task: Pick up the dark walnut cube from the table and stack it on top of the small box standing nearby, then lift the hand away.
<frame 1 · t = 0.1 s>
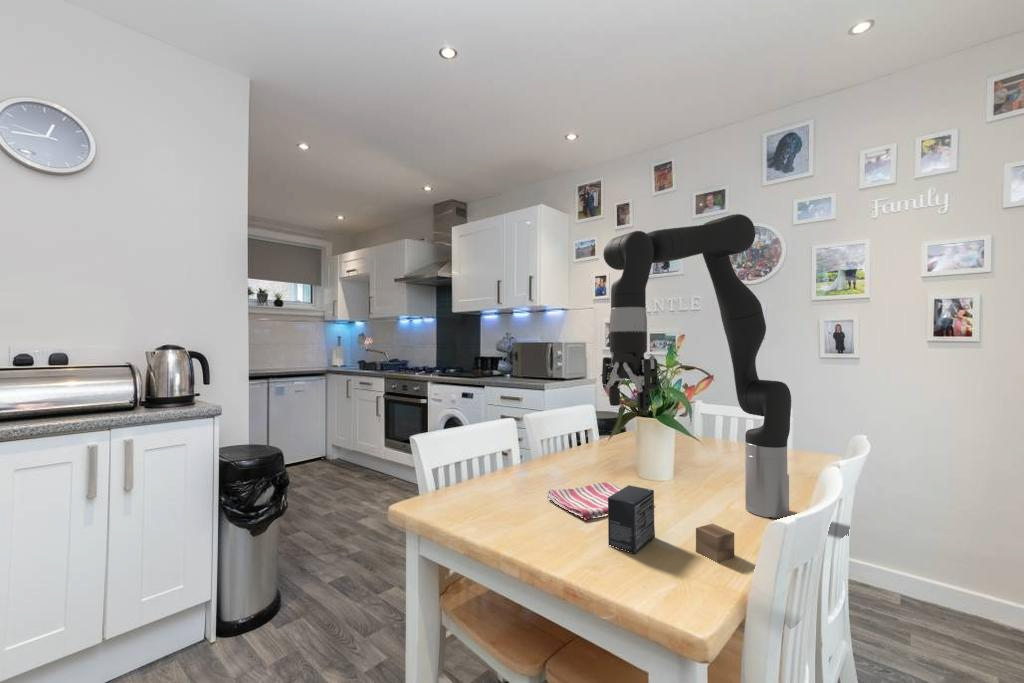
hand: (628, 408, 91), 29 cm above the table, tool pointing down, fingers open, 8 cm apart
small box: (631, 542, 94), on the table
dish towel: (598, 505, 118), on the table
walnut block: (714, 555, 89), on the table
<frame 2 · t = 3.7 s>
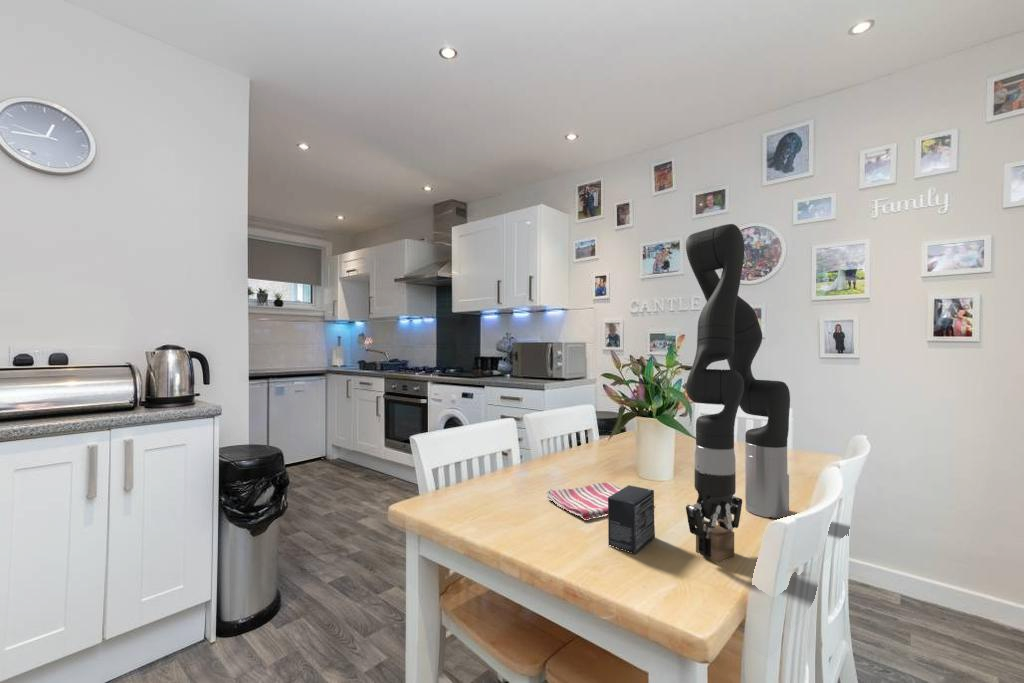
hand: (714, 552, 89), 0 cm above the table, tool pointing down, fingers closed on walnut block, 5 cm apart
walnut block: (714, 554, 89), on the table, touching gripper
everything else where it was.
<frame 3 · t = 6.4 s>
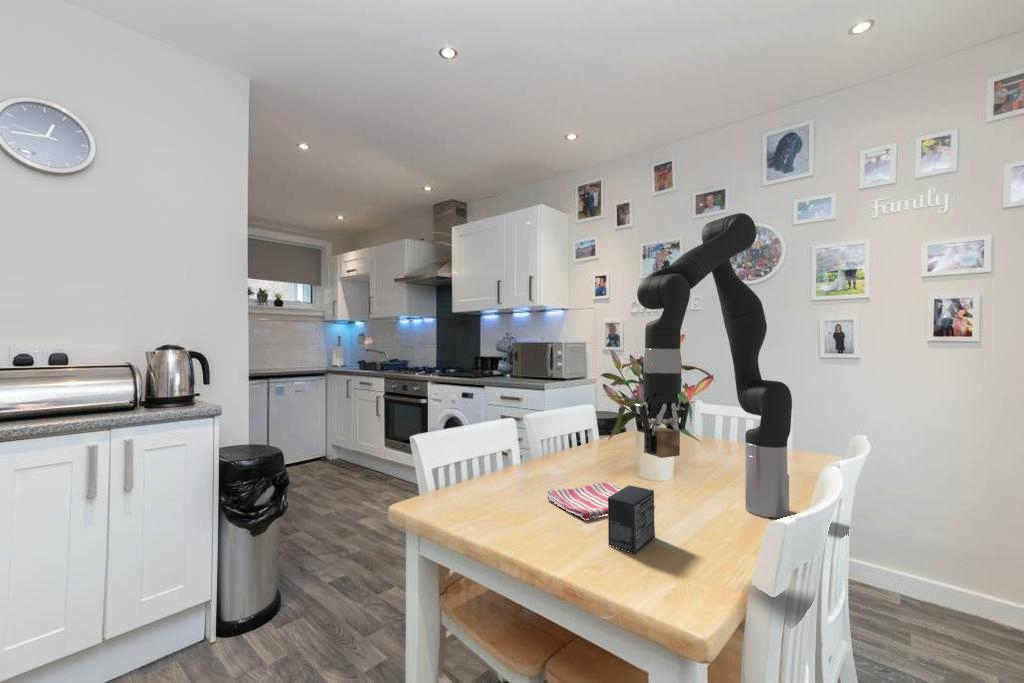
hand: (661, 451, 92), 20 cm above the table, tool pointing down, fingers closed on walnut block, 5 cm apart
walnut block: (661, 453, 92), point 19 cm above the table, touching gripper
everything else where it was.
when the fingers open (12 cm above the table, at t = 9.1 s): walnut block stays where it is, resting on small box.
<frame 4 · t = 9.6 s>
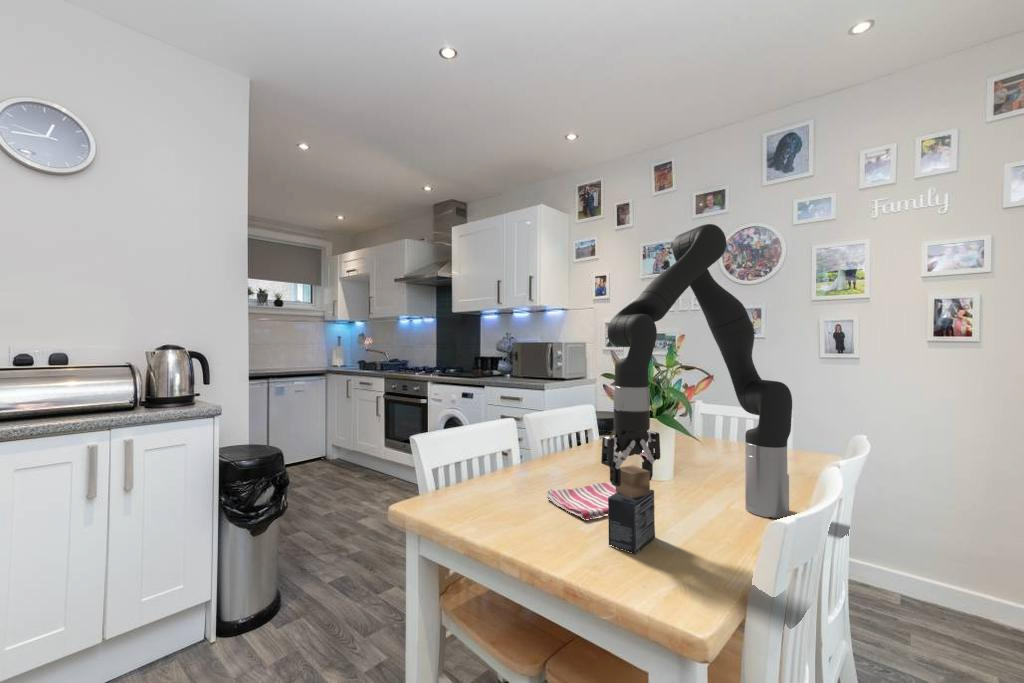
hand: (631, 482, 95), 13 cm above the table, tool pointing down, fingers open, 8 cm apart
small box: (631, 542, 94), on the table, touching walnut block
walnut block: (632, 493, 95), point 10 cm above the table, touching small box
everything else where it was.
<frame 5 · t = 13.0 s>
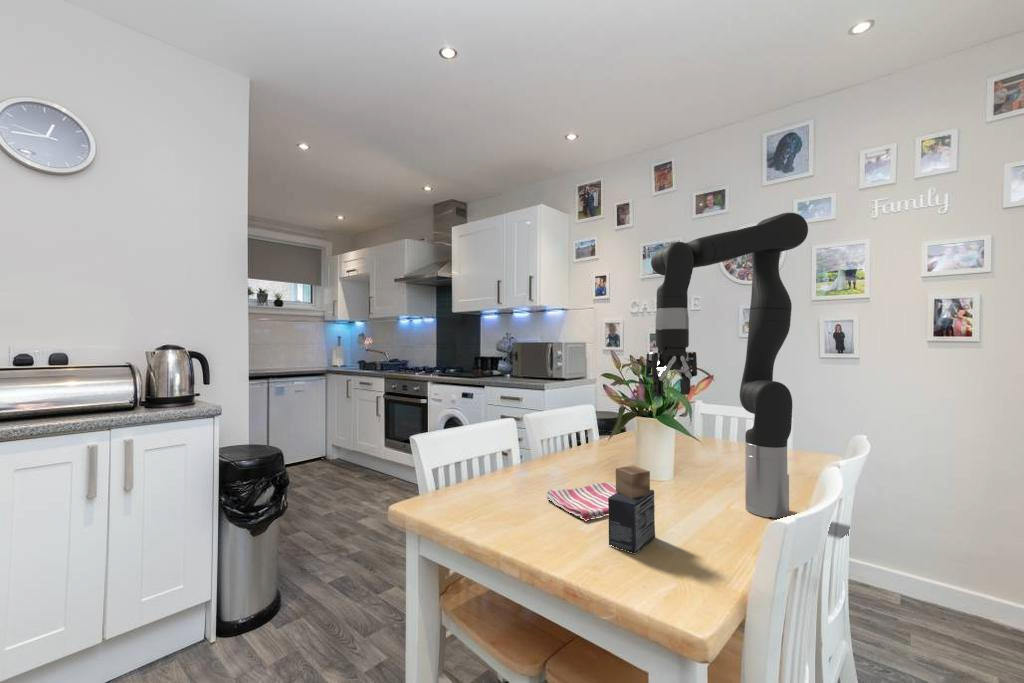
hand: (672, 395, 105), 30 cm above the table, tool pointing down, fingers open, 8 cm apart
nothing on the table moved.
at the end: walnut block 0.2 cm off-centre on the small box, point 10.7 cm above the small box's base; small box tilted 0°; the gripper is holding nothing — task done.
